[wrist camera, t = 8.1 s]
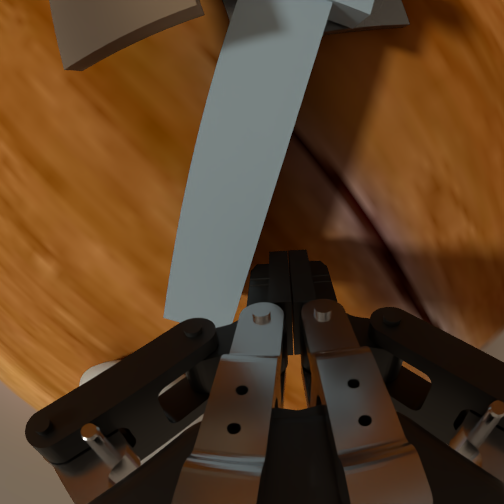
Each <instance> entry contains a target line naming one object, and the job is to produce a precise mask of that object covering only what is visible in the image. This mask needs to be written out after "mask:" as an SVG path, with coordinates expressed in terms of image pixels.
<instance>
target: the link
mask: <svg viewBox="0 0 504 504" xmlns="http://www.w3.org/2000/svg"><path fill="white" fill-rule="evenodd" d="M373 3H374V0H237V3H236V6H235V9H234V12H233V15H232V18H231V21H230V24H229V27H228V30H227V33H226V36H225V39H224V43H223V46H222V49H221V52H220V56H219V59H218V62H217V66H216V69H215V73H214V76H213V80H212V83H211V87H210V90H209V94H208V98H207V101H206V105H205V109H204V113H203V117H202V120H201V124H200V128H199V132H198V136H197V141H196V145H195V149H194V153H193V158H192V162H191V166H190V171H189V175H188V180H187V185H186V189H185V194H184V199H183V204H182V209H181V214H180V219H179V225H178V230H177V235H176V241H175V247H174V252H173V258H172V264H171V270H170V277H169V283H168V290H167V296H166V303H165V311H164V318H166V319H170V320H173V321H177V322H180V323H181V322H183V321H185V320H187V319H191V318H205V319H208V320H210V321H212V322H213V323H214V324H215V327H216V328H217V327H221V326H225V325H229V324H232V322H233V319H234V316H235V313H236V309H237V306H238V303H239V300H240V297H241V294H242V290H243V287H244V284H245V281H246V278H247V275H248V271H249V268H250V265H251V262H252V259H253V256H254V252H255V249H256V246H257V243H258V240H259V237H260V233H261V230H262V227H263V224H264V221H265V218H266V214H267V211H268V208H269V205H270V202H271V198H272V195H273V192H274V189H275V186H276V183H277V179H278V176H279V173H280V170H281V167H282V163H283V160H284V157H285V154H286V151H287V147H288V144H289V141H290V138H291V135H292V131H293V128H294V125H295V122H296V119H297V115H298V112H299V109H300V106H301V103H302V99H303V96H304V93H305V90H306V87H307V83H308V80H309V77H310V74H311V71H312V67H313V64H314V61H315V58H316V55H317V51H318V48H319V45H320V42H321V38H322V35H323V32H324V29H325V26H326V22H327V20H330V21H333V22H336V23H338V24H341V25H344V26H346V27H349V28H352V29H353V28H354V27H356V26H357V25H358V24H359V23H361V22H362V21H363V20H364V19H366V18H367V17H368V16H369V15H370V14H371V10H372V7H373Z"/></svg>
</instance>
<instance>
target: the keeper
mask: <svg viewBox="0 0 504 504" xmlns="http://www.w3.org/2000/svg"><path fill="white" fill-rule="evenodd" d="M49 1H50V7H51V13H52V18H53V23H54V28H55V33H56V37H57V42H58V46H59V51H60V55H61V59H62V63H63V67H64V70H76V71H83V70H85V69H86V68H88V67H90V66H92V65H93V64H95V63H97V62H99V61H100V60H102V59H104V58H106V57H108V56H110V55H112V54H114V53H115V52H117V51H119V50H121V49H123V48H125V47H127V46H129V45H131V44H134V43H136V42H138V41H140V40H142V39H144V38H147V37H149V36H151V35H153V34H156V33H158V32H160V31H163V30H165V29H168V28H170V27H173V26H175V25H178V24H180V23H183V22H186V21H188V20H191V19H194V18H197V17H200V16H203V15H204V12H203V9H202V6H201V3H200V1H199V0H49Z"/></svg>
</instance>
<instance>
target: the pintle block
mask: <svg viewBox="0 0 504 504" xmlns="http://www.w3.org/2000/svg"><path fill="white" fill-rule="evenodd" d="M223 3H224V6H225V9H226V11H227V14H228V17H229V20H230V21H231V18H232V15H233V12H234V9H235V6H236V3H237V0H223ZM409 24H410V23H409V20H408V17H407V14H406V12H405V9H404V6H403V3H402V1H401V0H374V3H373V7H372V10H371V14H370V15H369V16H368V17H367V18H366V19H364V20H363V21H362V22H361V23H359V24H358V25H357V26H356V27H354V28H353V29H352V28H349V27H346V26H344V25H341V24H338V23H336V22H333V21H330V20H327V22H326V26H325V29H324V32H323V35H330V34H337V33H344V32H353V31H362V30H373V29H387V28H403V27H405V26H407V25H409ZM323 35H322V36H323Z"/></svg>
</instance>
